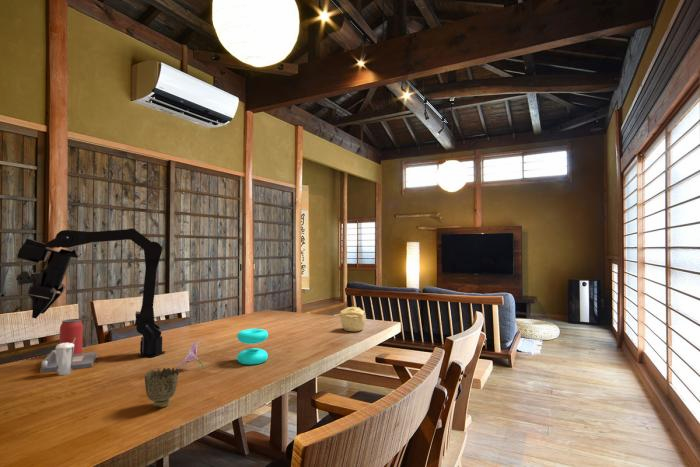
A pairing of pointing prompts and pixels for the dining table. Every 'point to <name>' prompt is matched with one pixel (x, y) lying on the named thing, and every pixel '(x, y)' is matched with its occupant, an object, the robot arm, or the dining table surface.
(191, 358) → the lily
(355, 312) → the pale yellow rounded lump
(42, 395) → the dining table surface
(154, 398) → the cup
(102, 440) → the dining table surface
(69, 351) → the milkshake
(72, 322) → the beer can
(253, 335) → the donuts
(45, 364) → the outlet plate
